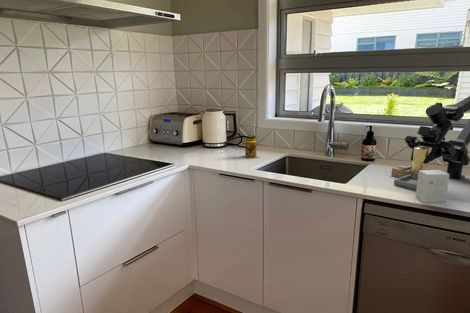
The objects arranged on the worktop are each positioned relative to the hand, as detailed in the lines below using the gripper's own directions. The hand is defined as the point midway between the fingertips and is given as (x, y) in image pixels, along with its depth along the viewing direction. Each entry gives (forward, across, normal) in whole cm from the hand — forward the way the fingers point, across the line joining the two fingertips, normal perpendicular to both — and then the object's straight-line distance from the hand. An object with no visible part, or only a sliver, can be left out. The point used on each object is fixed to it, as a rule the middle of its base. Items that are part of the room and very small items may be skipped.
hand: (417, 161), depth 133 cm
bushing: (+4, 0, +6) cm, 7 cm away
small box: (+14, +12, +1) cm, 19 cm away
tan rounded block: (+1, -12, +13) cm, 17 cm away
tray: (+6, 0, +8) cm, 10 cm away
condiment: (+30, -76, -16) cm, 84 cm away
